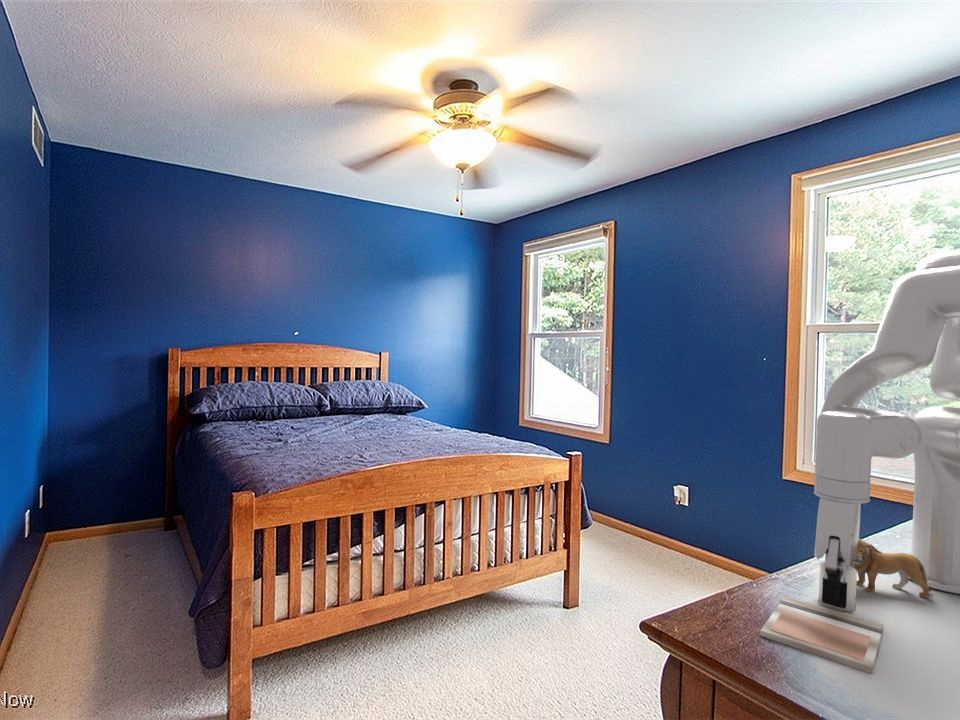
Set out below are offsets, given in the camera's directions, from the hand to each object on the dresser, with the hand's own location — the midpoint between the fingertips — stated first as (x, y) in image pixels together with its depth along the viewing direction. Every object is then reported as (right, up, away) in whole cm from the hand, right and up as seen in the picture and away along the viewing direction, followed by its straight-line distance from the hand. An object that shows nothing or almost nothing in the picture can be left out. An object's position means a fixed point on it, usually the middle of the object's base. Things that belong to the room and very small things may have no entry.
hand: (836, 597), depth 88 cm
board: (-8, -1, -9) cm, 13 cm away
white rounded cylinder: (0, -1, 0) cm, 1 cm away
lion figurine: (+12, -1, +5) cm, 13 cm away
